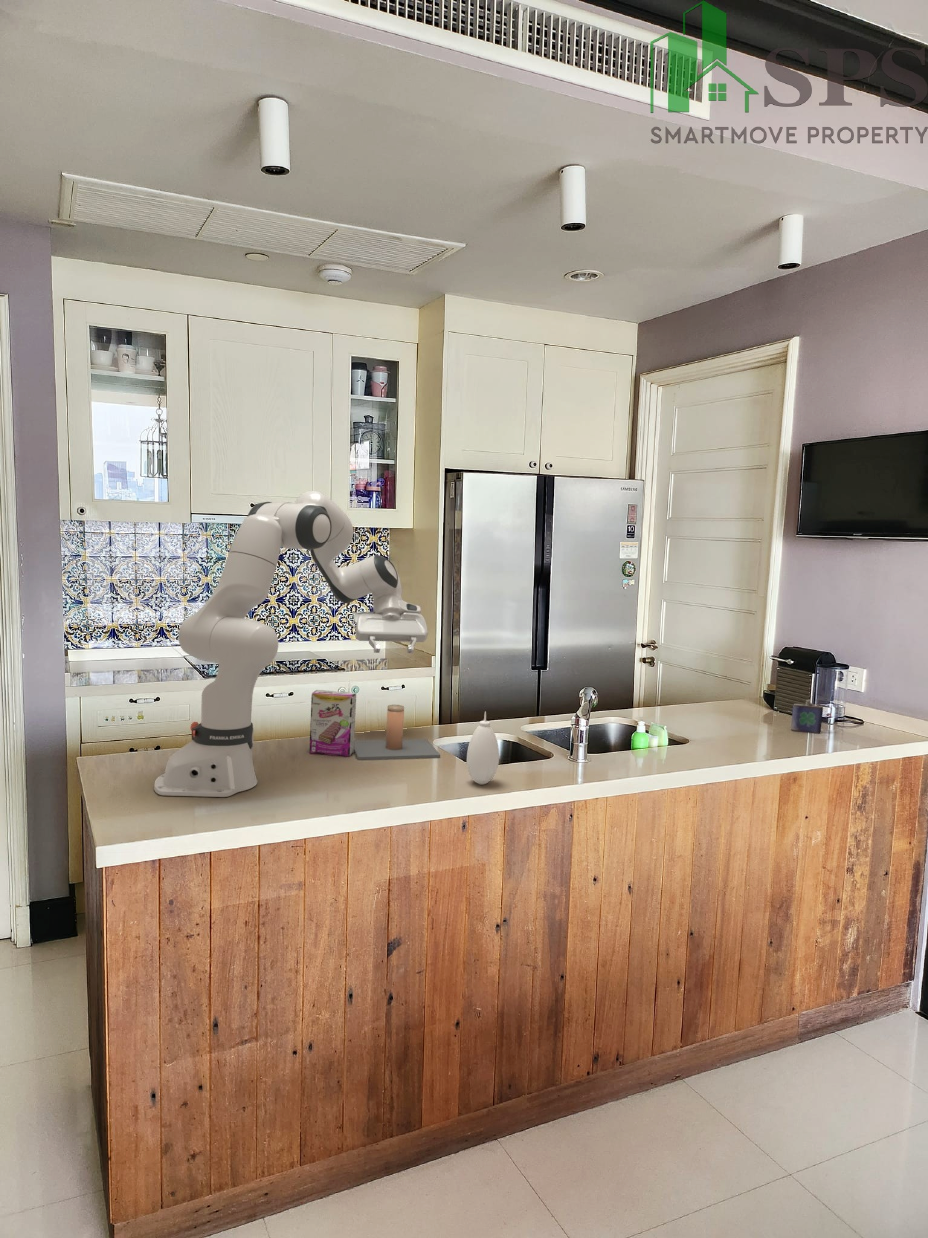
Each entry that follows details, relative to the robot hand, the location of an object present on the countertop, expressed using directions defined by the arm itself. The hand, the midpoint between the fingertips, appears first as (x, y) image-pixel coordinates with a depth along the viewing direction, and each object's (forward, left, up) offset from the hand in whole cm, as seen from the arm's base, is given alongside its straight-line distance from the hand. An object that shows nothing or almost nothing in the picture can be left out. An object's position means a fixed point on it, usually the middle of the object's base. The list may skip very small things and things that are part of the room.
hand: (394, 651), depth 230 cm
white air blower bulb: (+16, -36, -26) cm, 48 cm away
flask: (+139, +4, -26) cm, 142 cm away
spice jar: (0, -6, -25) cm, 26 cm away
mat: (0, -6, -26) cm, 27 cm away
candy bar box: (-17, -7, -26) cm, 32 cm away
